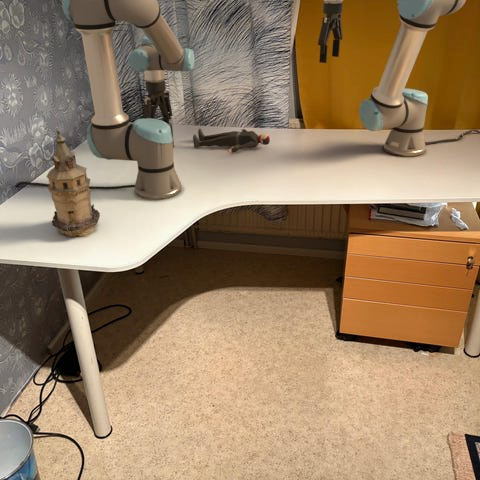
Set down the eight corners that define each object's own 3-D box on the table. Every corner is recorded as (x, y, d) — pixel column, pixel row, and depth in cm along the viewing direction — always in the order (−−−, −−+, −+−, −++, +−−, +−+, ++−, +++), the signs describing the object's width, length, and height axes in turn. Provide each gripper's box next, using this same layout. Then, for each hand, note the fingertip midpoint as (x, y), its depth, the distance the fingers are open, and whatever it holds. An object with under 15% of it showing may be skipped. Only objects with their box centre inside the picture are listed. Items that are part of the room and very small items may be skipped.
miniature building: (80, 214, 164) (63, 117, 149) (111, 225, 157) (96, 125, 142) (44, 231, 154) (22, 130, 140) (75, 244, 147) (55, 139, 133)
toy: (204, 122, 226) (274, 122, 220) (205, 136, 229) (274, 137, 223) (186, 142, 204) (264, 143, 198) (188, 157, 207) (264, 159, 201)
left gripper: (163, 73, 211) (168, 129, 223) (129, 84, 196) (136, 144, 207) (179, 75, 208) (182, 132, 219) (145, 87, 193) (151, 147, 204)
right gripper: (335, -2, 217) (331, 53, 228) (311, 5, 198) (308, 64, 209) (353, -1, 214) (348, 54, 224) (330, 6, 195) (326, 66, 205)
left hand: (160, 138), depth 213 cm, fingers open, 8 cm apart
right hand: (329, 59), depth 217 cm, fingers open, 13 cm apart
